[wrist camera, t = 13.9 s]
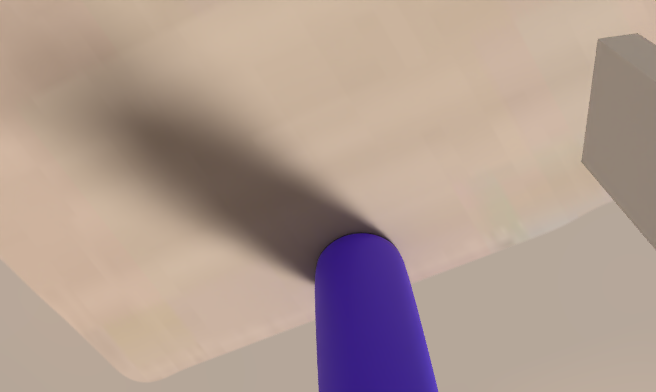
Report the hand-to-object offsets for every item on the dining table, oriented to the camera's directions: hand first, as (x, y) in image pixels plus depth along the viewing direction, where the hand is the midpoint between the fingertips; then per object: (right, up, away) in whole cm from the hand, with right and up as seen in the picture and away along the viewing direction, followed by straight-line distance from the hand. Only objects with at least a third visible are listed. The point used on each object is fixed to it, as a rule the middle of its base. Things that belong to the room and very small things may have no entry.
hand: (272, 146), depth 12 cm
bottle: (+4, -7, +42) cm, 43 cm away
